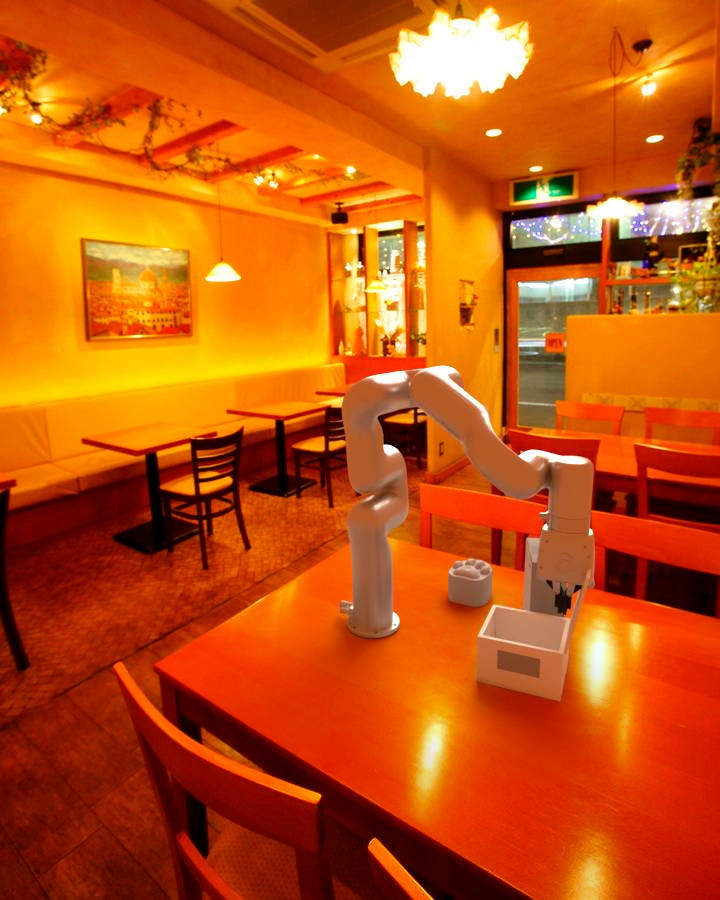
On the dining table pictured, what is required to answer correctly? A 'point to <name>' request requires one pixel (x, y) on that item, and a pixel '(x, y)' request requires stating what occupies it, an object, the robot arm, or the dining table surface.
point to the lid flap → (576, 610)
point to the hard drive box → (537, 584)
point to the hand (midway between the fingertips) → (562, 610)
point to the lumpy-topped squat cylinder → (470, 582)
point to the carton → (523, 651)
